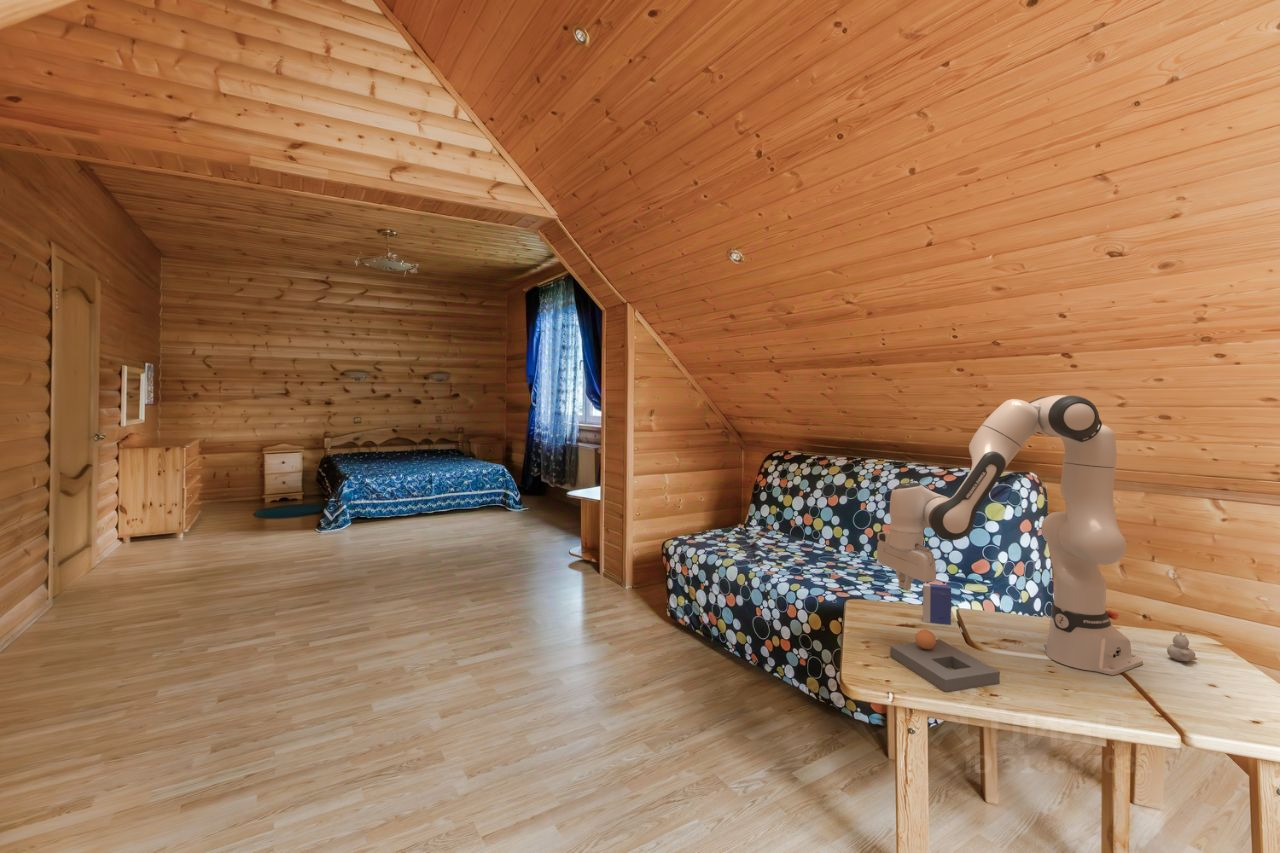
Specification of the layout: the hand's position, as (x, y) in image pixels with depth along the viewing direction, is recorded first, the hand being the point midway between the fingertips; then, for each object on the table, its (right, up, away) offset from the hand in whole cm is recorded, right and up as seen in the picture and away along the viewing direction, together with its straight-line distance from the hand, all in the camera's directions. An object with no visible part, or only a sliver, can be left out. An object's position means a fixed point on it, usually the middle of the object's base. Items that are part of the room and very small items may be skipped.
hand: (904, 588), depth 163 cm
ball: (+2, -12, -7) cm, 14 cm away
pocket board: (+4, -18, -13) cm, 22 cm away
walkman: (+19, -16, +19) cm, 31 cm away
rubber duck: (+69, -17, -10) cm, 72 cm away
